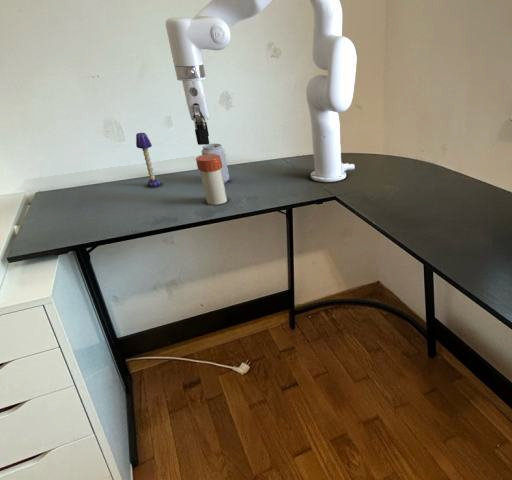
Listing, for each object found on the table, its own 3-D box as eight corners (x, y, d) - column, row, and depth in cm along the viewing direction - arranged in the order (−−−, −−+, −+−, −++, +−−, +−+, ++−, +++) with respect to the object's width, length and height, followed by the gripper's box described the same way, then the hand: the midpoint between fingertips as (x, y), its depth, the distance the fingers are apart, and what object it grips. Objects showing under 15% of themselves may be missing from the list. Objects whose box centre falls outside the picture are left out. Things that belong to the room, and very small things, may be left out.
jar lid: (220, 163, 145) (218, 153, 143) (223, 170, 140) (221, 159, 138) (197, 166, 143) (194, 155, 141) (199, 172, 138) (196, 161, 136)
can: (232, 178, 166) (226, 142, 159) (225, 185, 160) (218, 148, 153) (212, 177, 166) (205, 142, 159) (204, 184, 161) (196, 147, 153)
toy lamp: (164, 183, 162) (150, 131, 152) (159, 187, 158) (145, 135, 148) (150, 183, 162) (135, 131, 152) (145, 187, 158) (130, 135, 148)
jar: (225, 196, 151) (217, 156, 143) (228, 203, 146) (220, 161, 138) (205, 199, 149) (196, 158, 141) (208, 205, 144) (198, 163, 137)
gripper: (205, 76, 120) (217, 146, 131) (204, 69, 134) (216, 133, 144) (174, 77, 119) (189, 148, 129) (177, 69, 132) (190, 134, 142)
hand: (203, 140), depth 136 cm, fingers open, 9 cm apart
